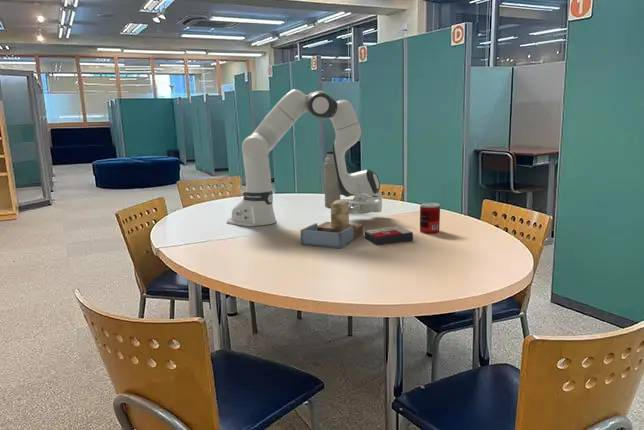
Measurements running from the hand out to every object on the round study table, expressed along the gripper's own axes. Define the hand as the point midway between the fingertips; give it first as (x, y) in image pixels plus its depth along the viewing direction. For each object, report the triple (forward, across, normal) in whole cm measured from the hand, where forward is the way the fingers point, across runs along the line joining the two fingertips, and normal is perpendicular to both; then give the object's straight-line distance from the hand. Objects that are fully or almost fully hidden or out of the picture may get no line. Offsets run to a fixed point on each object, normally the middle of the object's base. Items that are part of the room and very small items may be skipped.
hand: (350, 209), depth 204 cm
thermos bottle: (-43, -28, +9) cm, 52 cm away
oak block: (+11, 0, +4) cm, 12 cm away
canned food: (-7, +31, +9) cm, 33 cm away
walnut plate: (+12, 0, +8) cm, 15 cm away
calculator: (+11, +20, +9) cm, 24 cm away
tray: (+23, 0, +8) cm, 24 cm away
